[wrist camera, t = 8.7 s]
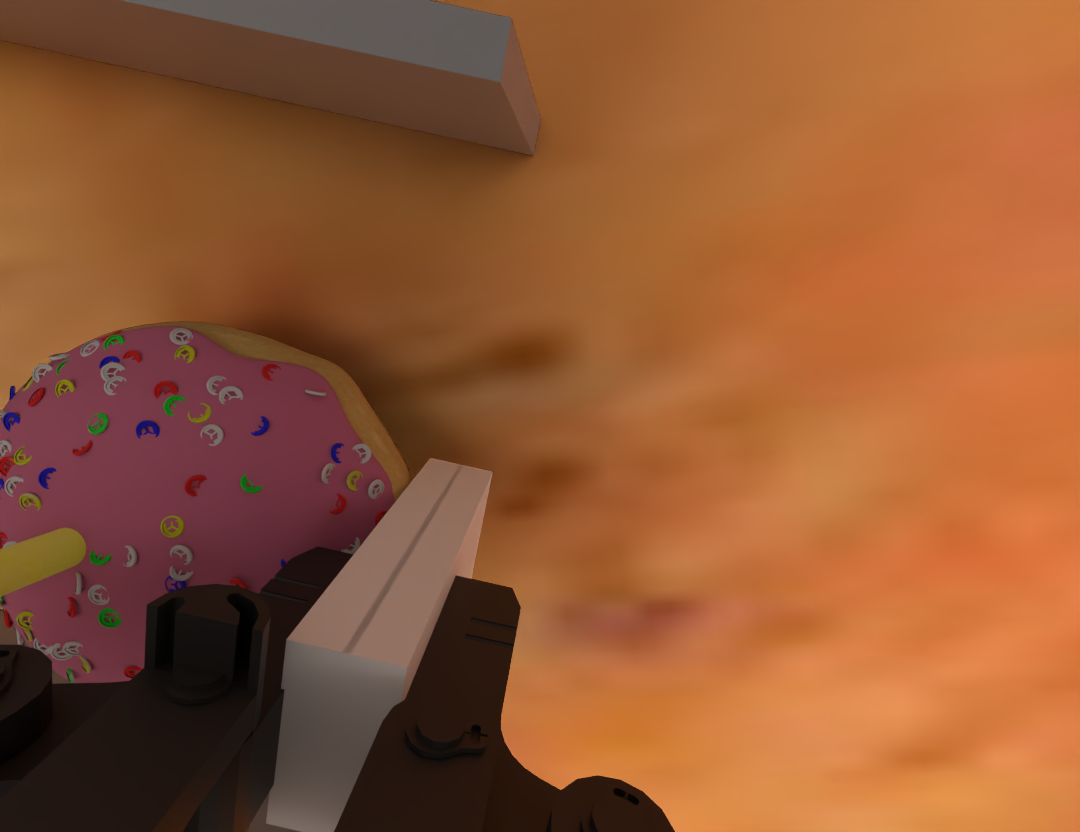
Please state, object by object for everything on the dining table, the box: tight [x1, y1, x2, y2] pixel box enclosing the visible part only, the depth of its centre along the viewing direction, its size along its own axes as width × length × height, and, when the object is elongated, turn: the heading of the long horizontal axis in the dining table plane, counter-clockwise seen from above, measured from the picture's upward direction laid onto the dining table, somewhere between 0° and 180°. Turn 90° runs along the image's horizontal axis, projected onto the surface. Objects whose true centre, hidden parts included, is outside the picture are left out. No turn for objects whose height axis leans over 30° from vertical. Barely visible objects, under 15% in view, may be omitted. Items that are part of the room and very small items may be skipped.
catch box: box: [0, 0, 541, 832], centre depth 13 cm, size 18×15×6 cm
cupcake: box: [0, 322, 412, 683], centre depth 11 cm, size 9×8×12 cm
